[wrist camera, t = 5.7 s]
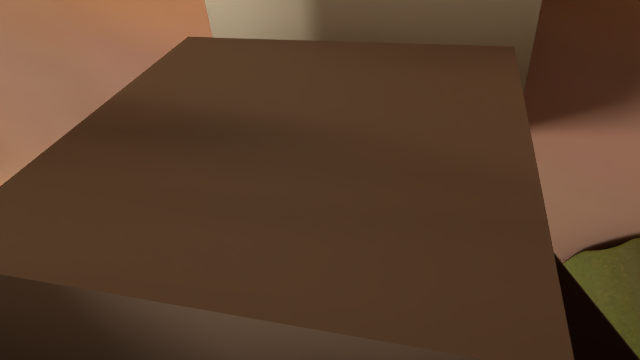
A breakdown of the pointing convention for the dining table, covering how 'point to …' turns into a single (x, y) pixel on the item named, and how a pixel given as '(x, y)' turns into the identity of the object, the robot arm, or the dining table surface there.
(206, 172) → the walnut block
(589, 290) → the plant pot
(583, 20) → the dining table surface
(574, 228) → the dining table surface
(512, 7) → the oak block
